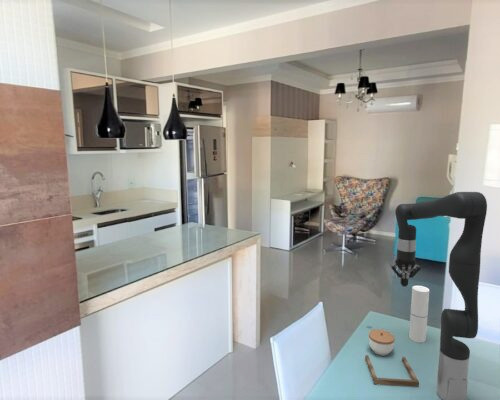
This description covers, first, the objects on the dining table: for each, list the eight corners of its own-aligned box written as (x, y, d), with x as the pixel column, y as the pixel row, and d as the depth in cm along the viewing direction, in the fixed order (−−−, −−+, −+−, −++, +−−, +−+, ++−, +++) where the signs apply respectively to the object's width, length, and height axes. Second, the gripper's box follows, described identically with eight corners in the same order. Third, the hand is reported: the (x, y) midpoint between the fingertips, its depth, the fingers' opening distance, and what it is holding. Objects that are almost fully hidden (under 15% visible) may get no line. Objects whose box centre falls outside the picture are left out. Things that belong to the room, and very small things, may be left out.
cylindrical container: (408, 340, 162) (411, 290, 158) (409, 332, 169) (412, 284, 165) (425, 344, 159) (429, 293, 155) (425, 336, 165) (429, 287, 161)
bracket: (365, 359, 149) (365, 354, 148) (404, 361, 147) (404, 356, 147) (374, 384, 133) (374, 379, 133) (418, 386, 132) (419, 382, 131)
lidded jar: (363, 350, 155) (364, 331, 153) (376, 341, 162) (377, 323, 160) (385, 361, 147) (386, 341, 145) (398, 352, 153) (399, 332, 152)
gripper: (393, 250, 149) (391, 288, 151) (425, 251, 147) (422, 289, 150) (388, 245, 156) (386, 282, 159) (419, 246, 155) (416, 283, 157)
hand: (404, 285), depth 154 cm, fingers closed
